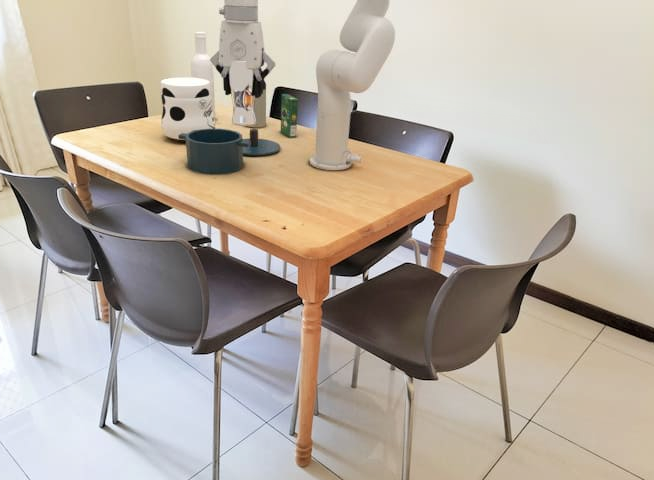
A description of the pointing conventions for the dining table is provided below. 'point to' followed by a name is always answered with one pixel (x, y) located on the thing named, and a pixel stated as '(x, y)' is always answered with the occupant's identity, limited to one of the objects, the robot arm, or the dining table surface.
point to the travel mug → (260, 109)
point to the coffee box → (289, 115)
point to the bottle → (203, 65)
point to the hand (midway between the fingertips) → (243, 94)
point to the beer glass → (242, 93)
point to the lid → (259, 145)
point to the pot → (214, 150)
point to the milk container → (185, 106)
